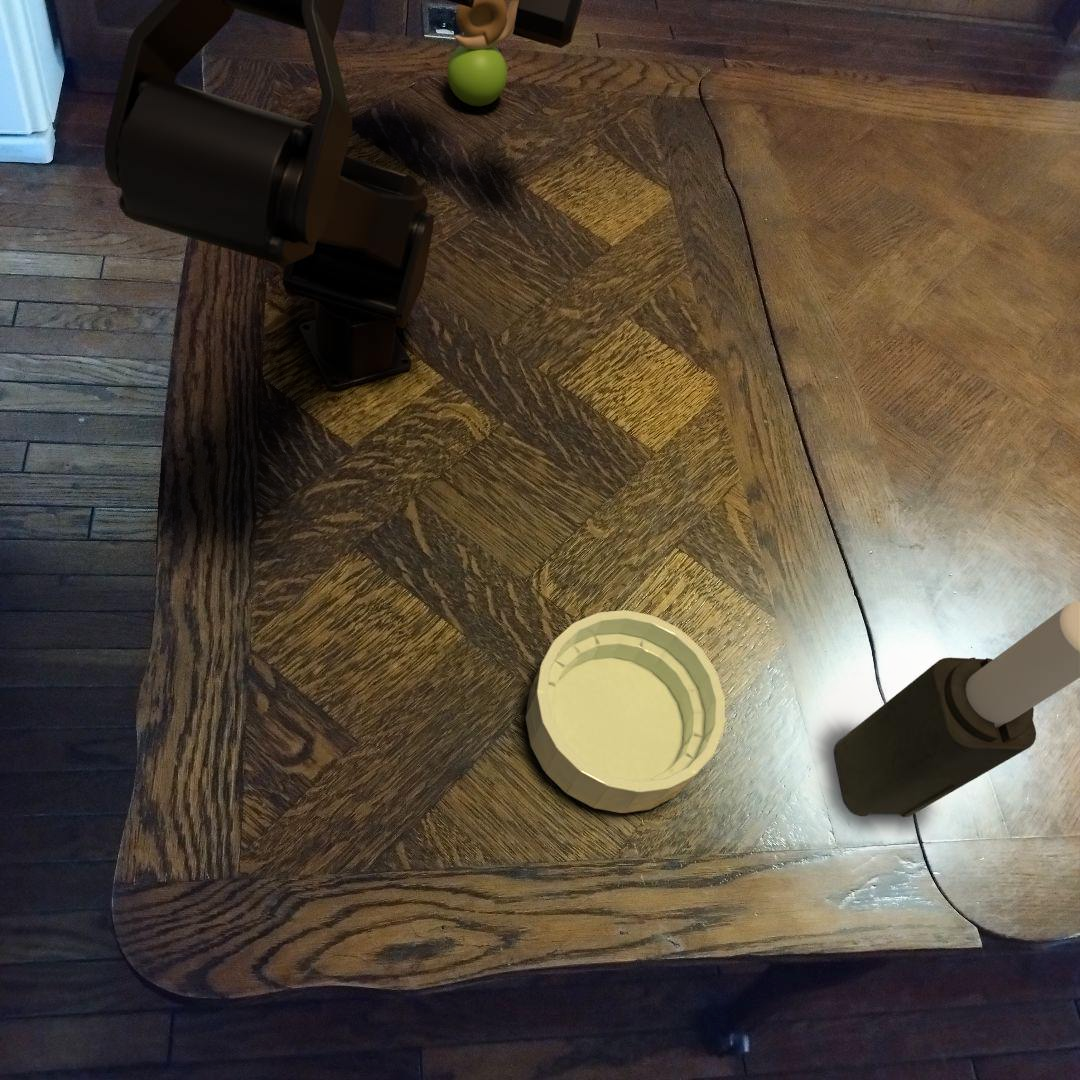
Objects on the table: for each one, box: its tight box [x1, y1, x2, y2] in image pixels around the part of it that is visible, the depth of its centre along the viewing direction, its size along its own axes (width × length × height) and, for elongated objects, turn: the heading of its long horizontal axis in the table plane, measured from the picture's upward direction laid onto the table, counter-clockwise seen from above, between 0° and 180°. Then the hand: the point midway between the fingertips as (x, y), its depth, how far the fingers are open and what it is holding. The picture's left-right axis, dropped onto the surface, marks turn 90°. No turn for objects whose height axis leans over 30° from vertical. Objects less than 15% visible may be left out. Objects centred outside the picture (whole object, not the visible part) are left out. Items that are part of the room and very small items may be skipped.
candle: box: [834, 600, 1080, 818], centre depth 52 cm, size 5×5×25 cm
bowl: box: [525, 609, 726, 814], centre depth 60 cm, size 11×11×5 cm
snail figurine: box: [446, 0, 519, 107], centre depth 87 cm, size 5×6×12 cm
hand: (465, 2), depth 76 cm, fingers open, 9 cm apart
